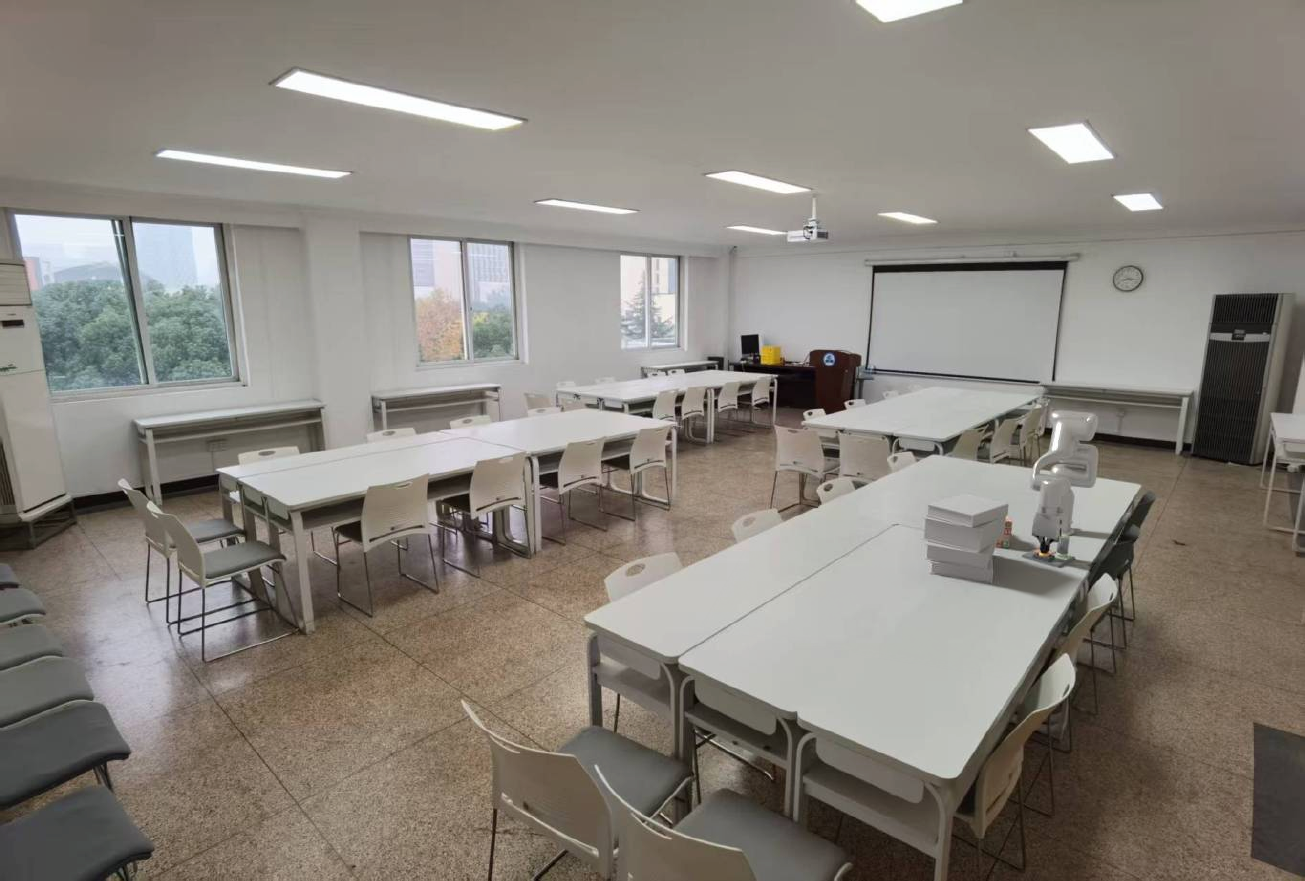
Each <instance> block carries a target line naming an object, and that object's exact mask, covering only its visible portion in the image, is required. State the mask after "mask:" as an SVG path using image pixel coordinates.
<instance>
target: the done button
mask: <svg viewBox="0 0 1305 881" xmlns="http://www.w3.org/2000/svg"><path fill="white" fill-rule="evenodd" d="M1039 556H1042V557H1046V558H1048V557H1049V553H1046V554H1043V553H1040V552H1039Z"/></svg>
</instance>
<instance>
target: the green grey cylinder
mask: <svg viewBox="0 0 1305 881" xmlns="http://www.w3.org/2000/svg"><path fill="white" fill-rule="evenodd" d="M1070 536H1071V535H1067V534H1062V537H1060V539H1061V541H1060V542H1056V545H1057V546H1056V551H1055V552H1056V556H1058V557H1061V558H1067V557H1068V555H1069V547H1070V538H1071V537H1070Z"/></svg>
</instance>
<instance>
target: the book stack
mask: <svg viewBox="0 0 1305 881" xmlns="http://www.w3.org/2000/svg"><path fill="white" fill-rule="evenodd" d="M925 505H926V506H927V513H925V516H924V517H923V519H924V520H925V523H924V535H923V537H922V538H921V540H923V541H927V542H926V544H925V546H927V549H926V555H925V557H924V560H928V561H930V562H929V564H930V567H929V572H928V573H929V574H932V575H937V576H938V575H939V576H944V577H951V578H957V579H963V580H969V581H976V582H982V583H990V584H992V583H993V578H994V577H993V576H994V565H993V555H994V552H995V550H996V548H997V547H996V545H997V540H998V539H999V538H1000V537H1002V536H1003V535H1004V533H1005V523H1006V516H1007V517H1008V514H1009V503H1006V502H1003V501H999V500H998V501H997V500H994V499H990V498H985V497H980V496H975V495H972V494H967V493H958V494H956V495H951V496H948V497H945V498H942V499H938V500H934V501H931V502H929V503H926V504H925Z"/></svg>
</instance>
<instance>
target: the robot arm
mask: <svg viewBox="0 0 1305 881" xmlns="http://www.w3.org/2000/svg"><path fill="white" fill-rule="evenodd" d="M1049 419H1050V423H1051V424H1052V431H1051V437H1050V443H1049V447H1048V451H1047V452H1046V453H1044V454H1042V455H1041V456H1040V457H1039V458H1038V459H1037V460H1036V462H1035V463H1034V465H1033V467H1032V469H1031V475H1030V479H1029V487H1030V489H1031V490H1032V491H1035V492H1039V498H1038V499H1039V500H1038V506H1037V507H1038V509H1037V510H1036V511H1035V513H1034V517H1033V521H1032V524H1031V536H1032V537H1034V538H1036V539H1037V540H1038V542H1039V547H1040V550H1041V551H1040V553H1043V554H1046V553H1048V552H1049V550H1050V548H1051V544H1052V543H1057V542H1060V541H1061V539H1060V537H1062V534H1067V535H1069V536H1071V535H1074V534H1075V530H1074V529H1073V528H1072V525H1073V523H1074V521H1073V513H1074V505H1075V499H1076V498H1075V493H1074V491H1073V490H1072V487H1075V488H1076V487H1077V488H1083V489H1091V488H1093V487H1094V486H1095V485H1096V480H1097V473H1098V464H1099V463H1098V462H1099V450H1098V448H1097V447H1096V446H1095V445H1093V444H1086V443H1080V441H1081V442H1090V441H1092V439H1093V438H1094V437H1095V433H1096V430H1097V428H1098V425H1099V418H1098V415H1097V414H1096V413H1094V412H1087V411H1085V412H1084V411H1075V410H1074V411H1073V410H1062V409H1060V410H1054V411H1052V412H1051V413H1050V418H1049ZM1056 462H1058V464H1055V465H1052V467H1051V468H1050V474H1047V473H1041V470H1042V469H1043V468H1044V467H1046V466H1047V465H1050V464H1053V463H1056Z"/></svg>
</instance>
